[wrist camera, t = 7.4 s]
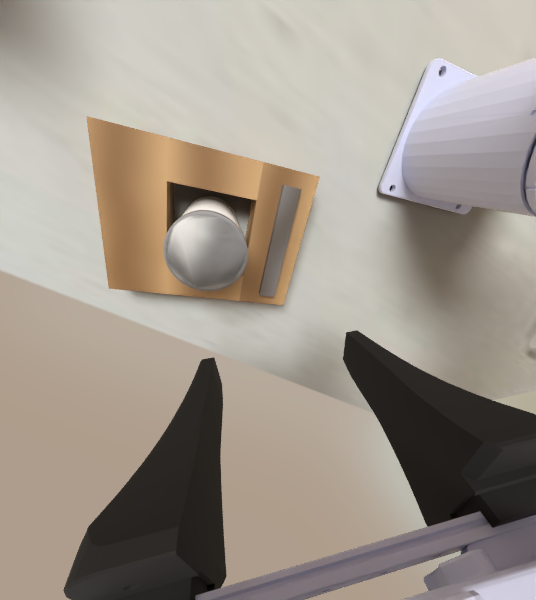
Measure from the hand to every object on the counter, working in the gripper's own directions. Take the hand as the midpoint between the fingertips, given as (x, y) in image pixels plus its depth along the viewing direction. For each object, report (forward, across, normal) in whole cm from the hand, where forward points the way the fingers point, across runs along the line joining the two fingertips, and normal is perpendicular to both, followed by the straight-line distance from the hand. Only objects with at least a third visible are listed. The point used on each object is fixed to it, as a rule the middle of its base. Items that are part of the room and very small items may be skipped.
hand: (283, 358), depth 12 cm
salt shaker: (+10, +3, -5) cm, 12 cm away
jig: (+10, +3, -5) cm, 12 cm away
